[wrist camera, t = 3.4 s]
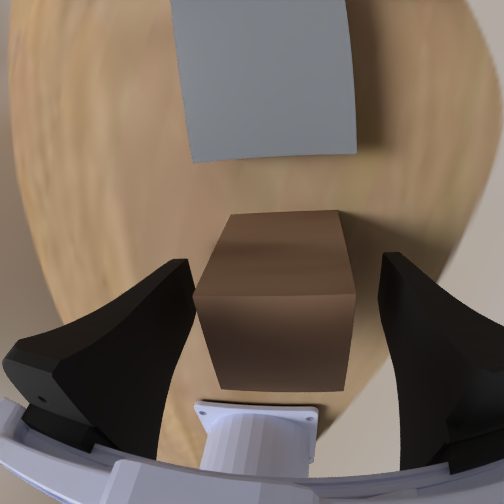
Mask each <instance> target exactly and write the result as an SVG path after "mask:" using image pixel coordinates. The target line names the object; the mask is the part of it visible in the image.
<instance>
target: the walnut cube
mask: <svg viewBox="0 0 504 504" xmlns="http://www.w3.org/2000/svg"><path fill="white" fill-rule="evenodd" d="M192 297H193V300H194V304H195V307H196V311H197V314H198V317H199V321H200V324H201V328H202V331H203V334H204V337H205V341H206V344H207V347H208V350H209V354H210V357H211V360H212V363H213V366H214V369H215V372H216V375H217V378H218V381H219V384H220V387H221V389H226V390H241V391H262V392H335V391H344V385H345V379H346V373H347V367H348V360H349V353H350V346H351V338H352V330H353V322H354V313H355V303H356V289H355V284H354V280H353V275H352V270H351V266H350V261H349V256H348V252H347V248H346V243H345V239H344V235H343V231H342V227H341V223H340V219H339V215H338V211H337V210H322V211H295V212H272V213H252V214H234V215H230V217H229V219H228V221H227V224H226V226H225V228H224V230H223V232H222V234H221V236H220V238H219V240H218V242H217V244H216V246H215V249H214V251H213V253H212V255H211V257H210V259H209V261H208V263H207V266H206V268H205V270H204V272H203V274H202V276H201V278H200V281H199V283H198V285H197V287H196V289H195V291H194V294H193V296H192Z"/></svg>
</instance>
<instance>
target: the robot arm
mask: <svg viewBox="0 0 504 504" xmlns="http://www.w3.org/2000/svg"><path fill="white" fill-rule="evenodd" d="M194 291H195V285H194V282H193V278H192V274H191V270H190V266H189V262H188V259H172V260H170V261H169V262H167V263H166V264H164V265H163V266H161V267H160V268H158V269H157V270H156V271H154V272H153V273H151V274H150V275H149V276H147V277H146V278H145V279H143V280H142V281H141V282H139V283H138V284H136V285H135V286H134V287H132V288H131V289H129V290H128V291H126V292H125V293H123V294H122V295H120V296H119V297H118V298H116V299H115V300H113V301H111V302H110V303H108V304H106V305H105V306H103V307H101V308H99V309H98V310H96V311H94V312H92V313H90V314H88V315H86V316H84V317H82V318H80V319H78V320H76V321H74V322H71V323H69V324H67V325H64V326H62V327H59V328H56V329H54V330H51V331H48V332H45V333H42V334H38V335H35V336H31V337H27V338H24V339H20V340H18V341H17V342H16V343H15V345H14V346H13V347H12V349H11V350H10V351H9V353H8V354H7V355H6V357H5V358H4V359H3V362H2V365H3V369H4V371H5V373H6V375H7V377H8V378H9V379H10V381H11V382H12V383H13V384H14V386H15V387H16V388H17V389H18V390H19V392H20V393H21V394H22V395H23V396H24V397H25V399H26V400H27V401H28V402H29V403H30V404H29V406H28V407H27V409H26V408H24V407H23V406H22V405H20V404H18V403H16V402H14V401H12V400H10V399H8V398H6V397H3V398H2V399H1V401H0V464H1V465H3V466H4V467H5V468H7V469H8V470H9V471H11V472H12V473H13V474H15V475H16V476H18V477H19V478H21V479H22V480H24V481H25V482H27V483H28V484H30V485H32V486H33V487H35V488H37V489H38V490H40V491H42V492H44V493H45V494H47V495H48V496H50V497H52V498H54V499H56V500H57V501H59V502H61V503H63V504H504V326H502V325H500V324H498V323H496V322H494V321H492V320H490V319H488V318H487V317H485V316H483V315H481V314H479V313H477V312H476V311H474V310H473V309H471V308H469V307H468V306H466V305H465V304H463V303H462V302H460V301H459V300H457V299H456V298H455V297H453V296H452V295H450V294H449V293H448V292H447V291H445V290H444V289H443V288H441V287H440V286H439V285H438V284H436V283H435V282H434V281H433V280H431V279H430V278H429V277H428V276H427V275H426V274H424V273H423V272H422V271H421V270H420V269H419V268H417V267H416V266H415V265H414V264H413V263H412V262H411V261H409V260H408V259H407V258H406V257H405V256H403V255H402V254H401V253H400V252H385V253H383V258H382V267H381V275H380V283H379V291H378V305H379V311H380V317H381V323H382V326H383V330H384V333H385V337H386V341H387V344H388V348H389V352H390V355H391V359H392V363H393V366H394V371H395V376H396V383H397V392H398V400H399V415H400V438H401V439H400V442H401V444H400V446H401V450H400V471H396V472H390V473H381V474H372V475H361V476H348V477H328V478H308V474H309V464H311V463H313V461H314V453H315V444H316V435H317V425H318V412H319V411H318V409H317V408H316V407H289V406H256V405H239V404H225V403H214V402H204V401H198V402H196V403H195V405H194V409H195V411H196V413H197V415H198V417H199V419H200V421H201V423H202V425H203V427H204V429H205V430H206V432H207V434H208V437H207V441H206V445H205V449H204V453H203V457H202V460H201V464H200V468H199V469H196V468H190V467H185V466H179V465H174V464H169V463H165V462H160V461H156V457H157V448H158V440H159V434H160V428H161V422H162V417H163V412H164V407H165V403H166V398H167V394H168V390H169V387H170V383H171V379H172V376H173V373H174V370H175V367H176V365H177V362H178V360H179V357H180V355H181V352H182V350H183V347H184V345H185V343H186V340H187V338H188V335H189V333H190V330H191V328H192V325H193V322H194V319H195V315H196V307H195V304H194V300H193V297H192V296H193V294H194Z"/></svg>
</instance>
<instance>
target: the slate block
mask: <svg viewBox="0 0 504 504" xmlns="http://www.w3.org/2000/svg"><path fill="white" fill-rule="evenodd" d="M170 1H171V11H172V20H173V29H174V37H175V45H176V53H177V61H178V69H179V76H180V83H181V90H182V97H183V104H184V111H185V118H186V124H187V131H188V137H189V143H190V149H191V155H192V161H193V163H200V162H210V161H220V160H231V159H244V158H258V157H274V156H294V155H325V154H357V140H356V111H355V92H354V78H353V65H352V54H351V44H350V35H349V27H348V19H347V11H346V4H345V0H170Z"/></svg>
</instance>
